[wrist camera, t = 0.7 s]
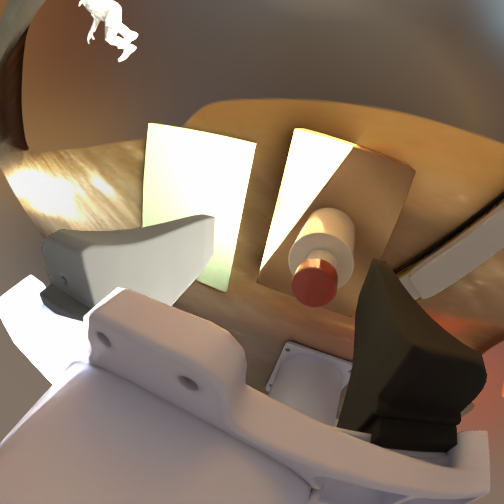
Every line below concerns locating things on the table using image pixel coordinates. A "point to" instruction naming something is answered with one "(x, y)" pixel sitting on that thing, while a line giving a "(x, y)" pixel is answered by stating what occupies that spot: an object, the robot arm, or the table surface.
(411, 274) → the harmonica
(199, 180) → the mat
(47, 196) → the table surface
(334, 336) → the table surface
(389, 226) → the small bench
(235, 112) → the table surface
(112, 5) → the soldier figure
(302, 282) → the spice bottle
